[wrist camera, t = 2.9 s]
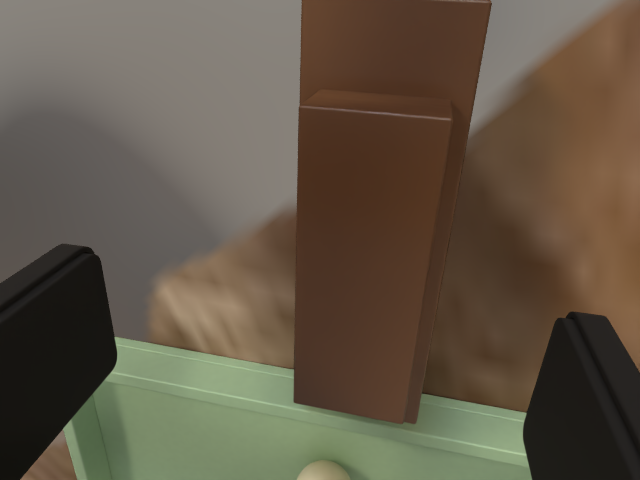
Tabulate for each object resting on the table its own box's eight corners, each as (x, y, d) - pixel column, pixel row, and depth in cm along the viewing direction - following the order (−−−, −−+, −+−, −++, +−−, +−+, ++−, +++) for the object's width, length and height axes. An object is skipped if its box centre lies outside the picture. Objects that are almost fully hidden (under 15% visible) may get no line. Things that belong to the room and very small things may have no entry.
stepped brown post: (481, -1, 12) (504, -1, 8) (419, 362, 18) (413, 480, 14) (328, -8, 13) (273, -10, 9) (313, 344, 19) (275, 450, 14)
